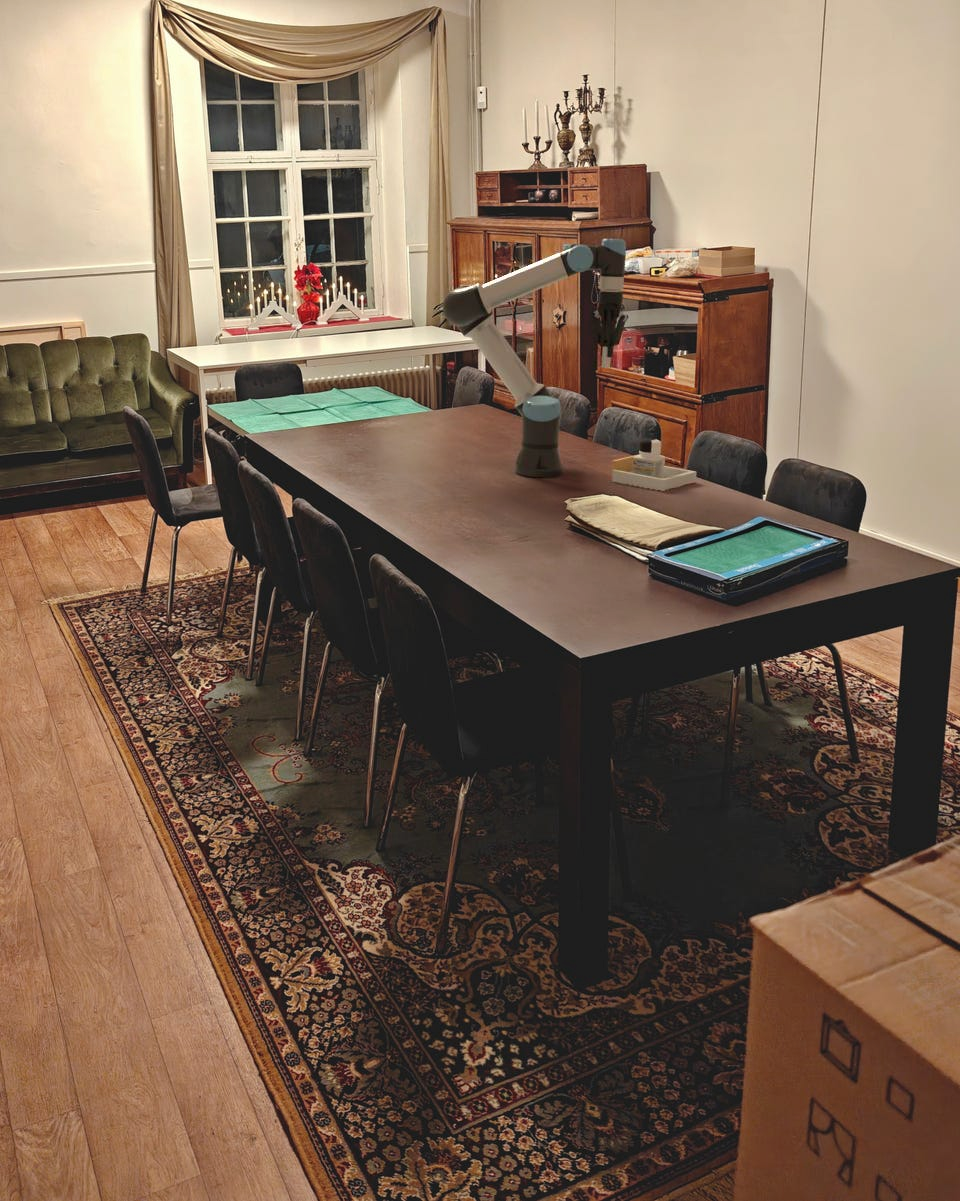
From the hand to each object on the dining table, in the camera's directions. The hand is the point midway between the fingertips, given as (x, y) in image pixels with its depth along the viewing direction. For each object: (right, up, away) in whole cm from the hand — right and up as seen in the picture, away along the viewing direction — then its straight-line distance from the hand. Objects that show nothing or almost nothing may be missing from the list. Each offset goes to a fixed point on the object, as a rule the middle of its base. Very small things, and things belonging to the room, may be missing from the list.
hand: (605, 367), depth 363 cm
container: (+12, -37, -7) cm, 40 cm away
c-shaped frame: (+14, -37, -8) cm, 41 cm away
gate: (+8, -33, -1) cm, 34 cm away
